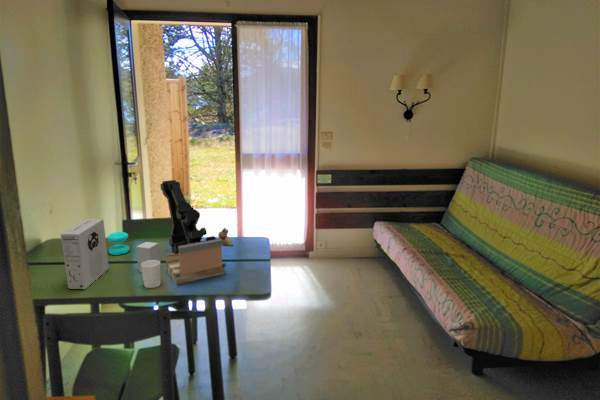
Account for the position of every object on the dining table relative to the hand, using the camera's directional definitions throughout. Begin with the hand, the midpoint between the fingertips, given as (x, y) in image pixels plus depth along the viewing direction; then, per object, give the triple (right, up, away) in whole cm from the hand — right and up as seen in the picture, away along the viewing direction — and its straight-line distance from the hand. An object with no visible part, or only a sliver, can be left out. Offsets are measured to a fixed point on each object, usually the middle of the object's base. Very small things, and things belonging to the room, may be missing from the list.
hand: (200, 261), depth 191 cm
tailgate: (0, -4, 0) cm, 4 cm away
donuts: (-50, 0, +33) cm, 60 cm away
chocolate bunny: (+4, +3, +45) cm, 45 cm away
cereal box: (-50, -8, +1) cm, 50 cm away
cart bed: (-4, -6, +9) cm, 12 cm away
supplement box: (-26, -6, +11) cm, 29 cm away
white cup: (-20, -10, -4) cm, 22 cm away
